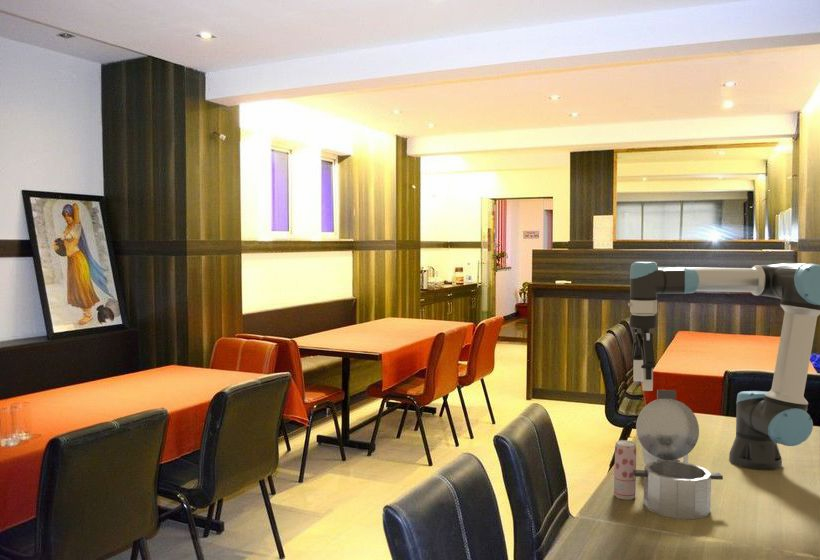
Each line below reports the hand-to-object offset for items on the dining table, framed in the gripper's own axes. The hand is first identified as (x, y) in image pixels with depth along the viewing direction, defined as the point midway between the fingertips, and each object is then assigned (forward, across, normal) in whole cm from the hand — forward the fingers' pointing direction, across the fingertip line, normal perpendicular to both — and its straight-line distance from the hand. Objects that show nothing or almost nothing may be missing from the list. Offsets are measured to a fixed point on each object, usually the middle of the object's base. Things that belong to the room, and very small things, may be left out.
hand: (642, 385), depth 206 cm
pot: (+28, +22, +4) cm, 36 cm away
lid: (+9, +12, +4) cm, 16 cm away
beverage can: (+28, +16, -8) cm, 33 cm away
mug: (+28, -7, +8) cm, 30 cm away
